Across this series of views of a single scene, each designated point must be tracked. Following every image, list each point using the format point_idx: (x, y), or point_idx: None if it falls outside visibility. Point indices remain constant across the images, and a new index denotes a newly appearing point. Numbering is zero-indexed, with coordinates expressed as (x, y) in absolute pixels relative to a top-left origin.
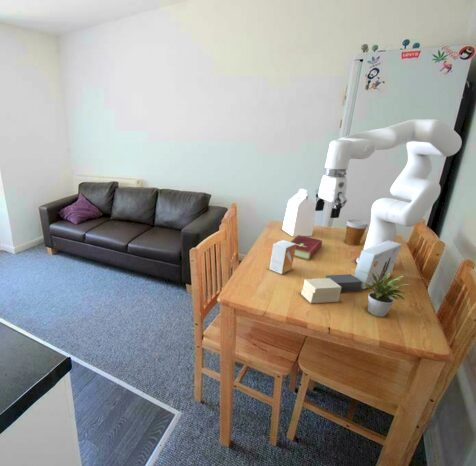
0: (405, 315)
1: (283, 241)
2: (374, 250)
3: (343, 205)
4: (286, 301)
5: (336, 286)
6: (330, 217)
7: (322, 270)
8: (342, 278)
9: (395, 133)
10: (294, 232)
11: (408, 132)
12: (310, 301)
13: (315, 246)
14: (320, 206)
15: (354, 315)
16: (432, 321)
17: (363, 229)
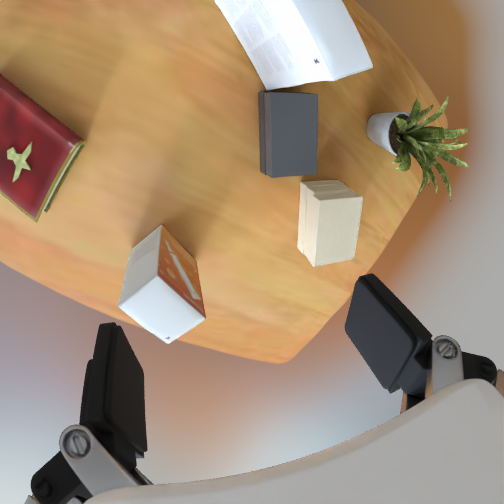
0: (391, 83)
1: (137, 311)
2: (337, 29)
3: (483, 364)
4: (316, 283)
5: (358, 207)
6: (347, 328)
7: (166, 125)
8: (294, 137)
9: None
10: None
11: None
12: None
13: (25, 107)
14: (129, 389)
15: (378, 180)
16: (406, 57)
17: None
